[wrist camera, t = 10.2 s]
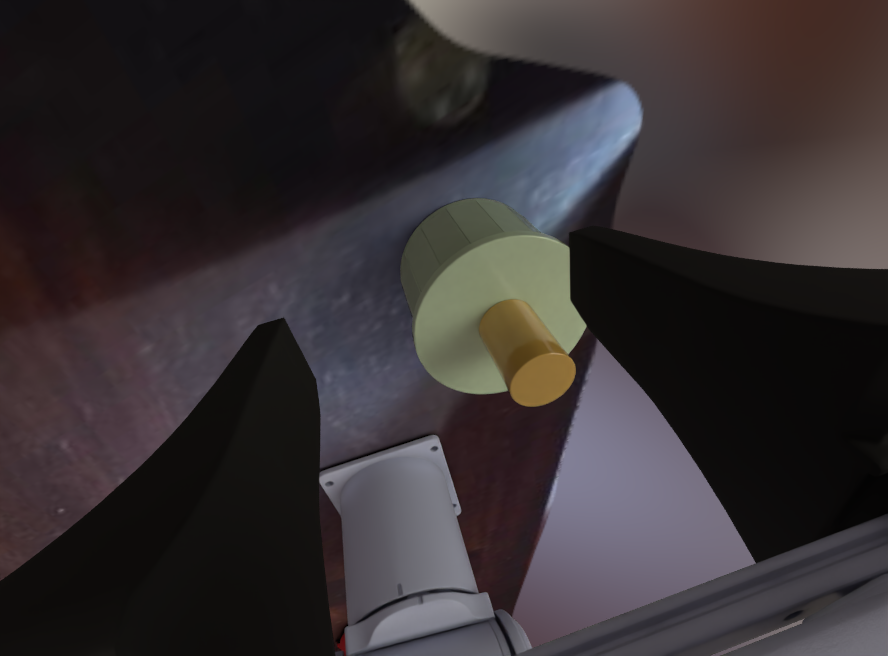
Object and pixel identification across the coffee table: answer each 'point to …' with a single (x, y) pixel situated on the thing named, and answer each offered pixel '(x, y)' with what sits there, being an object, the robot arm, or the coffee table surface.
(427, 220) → the tin
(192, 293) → the coffee table surface
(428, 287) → the lid
